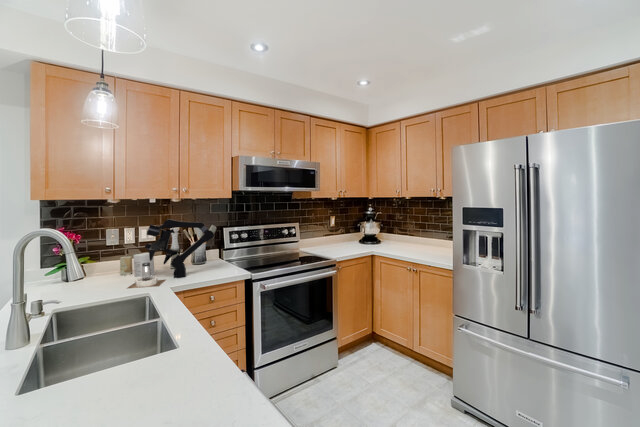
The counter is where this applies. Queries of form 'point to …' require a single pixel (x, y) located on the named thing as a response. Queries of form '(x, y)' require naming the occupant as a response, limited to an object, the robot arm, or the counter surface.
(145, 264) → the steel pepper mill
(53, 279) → the counter surface
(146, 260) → the supplement box
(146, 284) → the ceramic ring
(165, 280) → the walnut board
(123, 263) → the skincare box
